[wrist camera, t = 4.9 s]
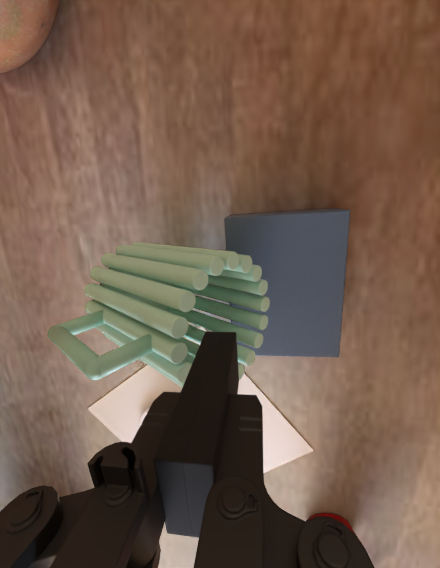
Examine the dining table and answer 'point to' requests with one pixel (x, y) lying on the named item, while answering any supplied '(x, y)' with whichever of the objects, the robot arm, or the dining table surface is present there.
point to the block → (296, 277)
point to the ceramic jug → (24, 29)
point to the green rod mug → (165, 308)
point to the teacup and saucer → (150, 384)
